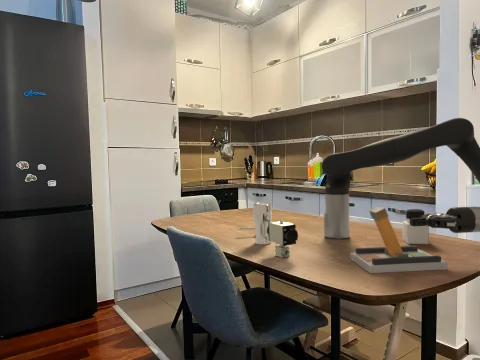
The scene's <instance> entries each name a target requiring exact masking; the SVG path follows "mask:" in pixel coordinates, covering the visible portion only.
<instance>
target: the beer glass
mask: <svg viewBox="0 0 480 360" xmlns="http://www.w3.org/2000/svg"><path fill="white" fill-rule="evenodd" d="M252 210H253V211H252V215H253V216H252V217H253V224H254V228H255V229H254V230H255V240H254V242H255V243H254V244H256V245H260V246H264V245H269V244H271V243H272V241H269V235H268V234H267V227H268V222H272V219H273V218H272V215H273V213H272V203H270V202H257V203H253V209H252Z"/></svg>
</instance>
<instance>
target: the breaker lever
mask: <svg viewBox="0 0 480 360" xmlns="http://www.w3.org/2000/svg"><path fill="white" fill-rule="evenodd" d="M368 212H369V214H370V217H371V218H372V219H373V221H374V223H375V225H376V227H377V229H378V233H379V235H380V236H381V239H382V240H383V243H384V247H386V248H387V250H388V253H389V254H391V255H393V256H394V257H396V253H403V251H402V249H401V247H400V246H401V245H400V242H399V240H398V237H397V235H396V233H395V230H394V227H393V226H392V224H391V222H390V219H389V214H388V212H387V209H386V208H385V207H381V206H379V205H377V206H375V207H373V208H371V209H370V210H369V209H368Z"/></svg>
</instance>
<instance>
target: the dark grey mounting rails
mask: <svg viewBox="0 0 480 360" xmlns="http://www.w3.org/2000/svg"><path fill="white" fill-rule="evenodd" d="M385 247H386V246H382V247H381V246H379V247H378V246H377V247H356V248H355V252H356V253H357V254H367V253H385ZM400 247H401V249H402V251H403V252H410V251H418V249H419V247H418V246H417V245H403V246H402V245H400ZM441 259H442V256H440V255H433V256H418V257H397V258H376V259H372V264H373V265H388V264H408V263H429V262H441Z"/></svg>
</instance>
